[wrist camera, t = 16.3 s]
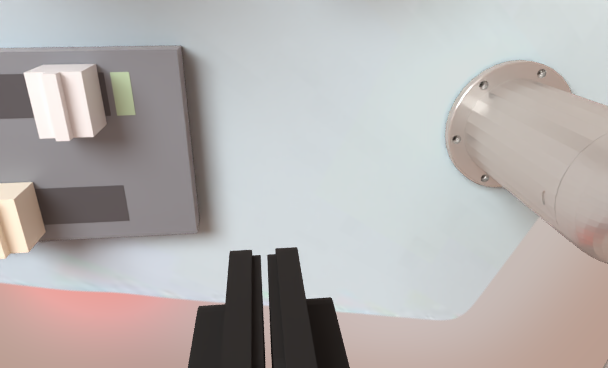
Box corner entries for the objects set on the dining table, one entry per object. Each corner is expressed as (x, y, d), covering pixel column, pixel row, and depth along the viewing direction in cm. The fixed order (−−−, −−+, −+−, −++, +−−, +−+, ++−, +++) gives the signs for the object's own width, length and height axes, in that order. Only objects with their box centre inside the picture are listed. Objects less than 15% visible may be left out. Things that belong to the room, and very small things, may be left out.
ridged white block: (95, 63, 37) (77, 73, 33) (106, 124, 39) (90, 140, 35) (43, 64, 36) (18, 74, 32) (57, 125, 38) (35, 142, 34)
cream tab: (32, 182, 40) (8, 203, 36) (45, 231, 42) (24, 257, 38) (-16, 183, 40) (-46, 206, 36) (-1, 234, 42) (-27, 260, 38)
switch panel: (181, 45, 39) (176, 49, 37) (199, 220, 46) (196, 233, 44) (-123, 49, 37) (-148, 54, 35) (-56, 233, 44) (-73, 247, 42)
